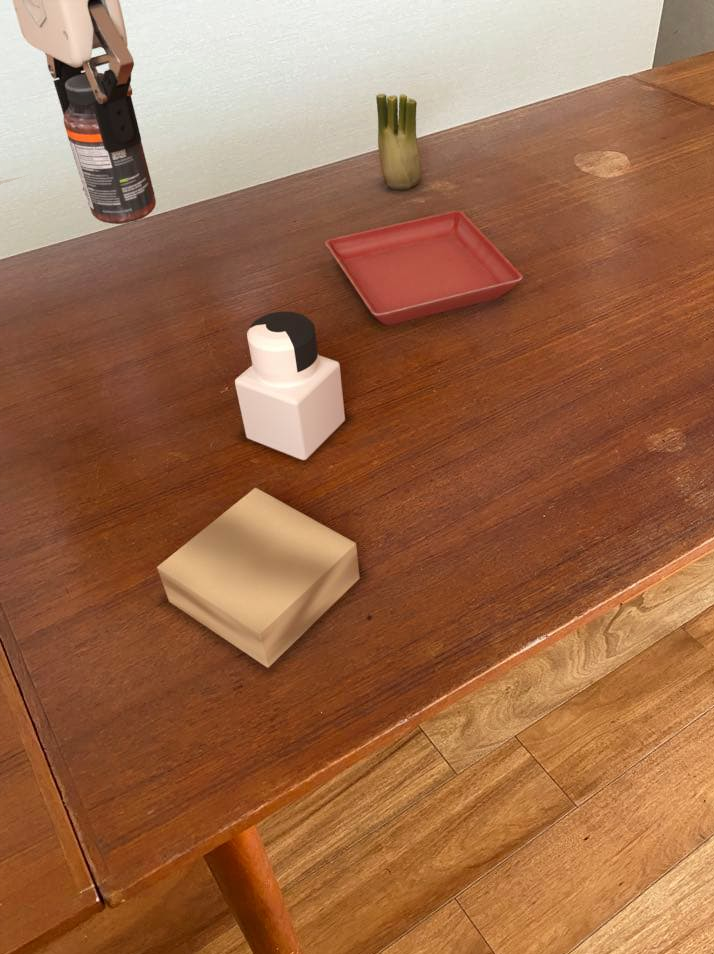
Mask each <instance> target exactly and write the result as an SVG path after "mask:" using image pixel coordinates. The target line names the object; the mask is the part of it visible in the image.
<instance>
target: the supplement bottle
mask: <svg viewBox="0 0 714 954" xmlns="http://www.w3.org/2000/svg"><path fill="white" fill-rule="evenodd" d="M98 74H99V76H100V79H101V81H102V79H103V75H104V72H98ZM65 88H66V92H67V95H68V100H69V101H70V104H69V107H68V110H67V111H66V112H65V114H64V115H63V125H64V128H65V132H66V134H67V139H68V142H69V146H70V148H71V151H72V152H71V153H72V154H73V159H74V161H75V165H76V168H77V171H78V174H79V177H80V181H81V184H82V191H84V195H85V196H86V200H87V204H88V207H89V209H90V213H91V214H92V216H93V217H94V218H95V219H97V220H99V222H102V223H105V224H106V223H107V224H112V225H113V224H115V225H124V224H128V223H132V222H137V221H139V220H141V219H144V218H146V217H147V216H148V215H150V214H151V213H152V212H153V211H154V210H155V207H156V204H157V200H156V196H155V191H154V188H153V183H152V178H151V175H150V171H149V167H148V163H147V159H146V154H145V151H144V146H143V143H142V141H141V142H140V144H138V145H135V146H132V147H129V148H126V149H123V150H120V151H117V152H114V153H110V152H108V151H106V150H105V148H104V145H103V141H102V137H101V134H100V130H99V126H98V122H97V119H96V115H95V111H94V108H93V104H92V102H95V101H97V100H96V97H95V95H94V93H93V90H92V88H91V85H90V83H89V80H88V78H87V75H86V74H81V75H77V76H74V77H72V78H70V79H69V80H67V81H66V83H65Z"/></svg>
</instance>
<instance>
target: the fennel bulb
mask: <svg viewBox="0 0 714 954" xmlns="http://www.w3.org/2000/svg"><path fill="white" fill-rule="evenodd" d="M375 99H376V109H377V110H376V111H377V148H378V157H379V161H380V162H379V163H380V167H381V173H382V176H383V179H384V182H385V183H386V185H387V187H388V188H389V189H390V190H392V191H397V192H406V191H409V190H410V189H412V188H415V187H416V186H417V185H418V184H419V182H420V180H421V176H422V165H421V154H420V149H419V145H418V138H417V104H418V103H417V101H416V99H414V98H410V97H408V96H407V95H406V94H403V93H400V95H399V100H398V96H397V95H388V96H387V95H386V93H379V94H376V95H375Z"/></svg>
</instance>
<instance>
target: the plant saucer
mask: <svg viewBox="0 0 714 954" xmlns="http://www.w3.org/2000/svg"><path fill="white" fill-rule="evenodd" d="M324 244H325V246H326V248H327V249H328V250H329V252H330V253H331V255H332V256H333V258H334V259H335V260H336V262H337V263H338V265H339V267H340V268H341V269H342V271H343V272H344V274H345V276H346V277H347V278H348V280H349V282H350V283H351V285H352V286H353V288H354V289H355V291H356V292H357V293H358V295H359V297H360V298H361V299H362V301H363V302H364V304H365V306H366V307H367V308H368V310H369V311H370V313H371V314H372V316H373V317H374V318H375V319H376V320H377V321H379V322H381V323H382V324H383V325H385V326H392V325H397V324H400V323H405V322H409V321H412V320H416V319H420V318H424V317H429V316H432V315H437V314H440V313H445V312H448V311H453V310H457V309H460V308H464V307H468V306H473V305H477V304H480V303H485V302H488V301H493V300H497V299H499V298H501V297H502V296H504V295H505V294H507V293H508V292H510V291H511V290H513V288H515V287H516V286H517V285H518V284H519V283H520V282H521V281H523V274H522V273H520V272H519V271H518V269H517V268H516V267H515V266H514V265H513V264H512V262H510V261H509V259H508V258H506V256H505V255H504V254H503V253H502V252H501V251H500V250H499V249H498V247H496V246H495V245H494V244H493V242H492V241H491V240H490V239H489V238H488V236H486V235H485V234H484V233H483V232H482V231H481V229H479V228H478V227H477V226H476V225H475V223H474V222H473V221H472V220H471V219H469V217H468V215H466V214H465V213H464V212H463V211H461V210H460V211H459V210H452V211H448V212H444V213H439V214H435V215H430V216H426V217H422V218H421V217H420V218H417V219H413V220H408V221H404V222H398V223H394V224H389V225H386V226H381V227H377V228H372V229H368V230H364V231H359V232H356V233H349V234H346V235H345V234H344V235H340V236H338V237H333V238H329V239H327V240H326V241H325V242H324Z"/></svg>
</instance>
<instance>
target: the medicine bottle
mask: <svg viewBox="0 0 714 954" xmlns="http://www.w3.org/2000/svg"><path fill="white" fill-rule="evenodd" d="M246 338H247V343H248V347H249V348H248V349H249V354H250V359H251V366H249V367H248V368H247V369H246V370H244V371H243V372H242V373H241V374H240V375H239V376H237V377H236V378H235V379H234V386H235V390H236V394H237V399H238V404H239V409H240V413H241V418H242V423H243V428H244V433H245V437H246V438H247V439H248V440H250V441H253V442H256V443H258V444H261V445H263V446H266V447H268V448H270V449H273V450H275V451H277V452H281V453H283V454H286V455H287V456H291V457H293V458H296V459H298V460H301V461H306V460H308V459H309V457H311V455H312V454H313V453H314V452H315V451H316V450H317V449H319V448H320V446H322V444H323V443H324V442H325V441H326V440H328V438H329V437H331V435H333V433H334V432H335V431H336V430H337V429H338V428H339V427H340V426H341V425H342V424H343V423H344V422H345V421H346V413H345V404H344V395H343V386H342V385H343V384H342V376H341V375H342V374H341V364H340V363H339V361H338V360H334V359H331V358H328V357H325V356H323V355H319V349H318V348H319V347H318V341H317V332H316V326H315V324H314V322H313V321H312V320H311V319H309V317H307V316H306V315H304V314H302V313H299V312H295V311H287V310H285V311H284V310H283V311H275V312H270V313H267V314H265V315H262V316H260V317H258V318H257V319H256V320H254V321H253V322H252V323H251V325H250V326H249V328H248V329H247V331H246Z"/></svg>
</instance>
